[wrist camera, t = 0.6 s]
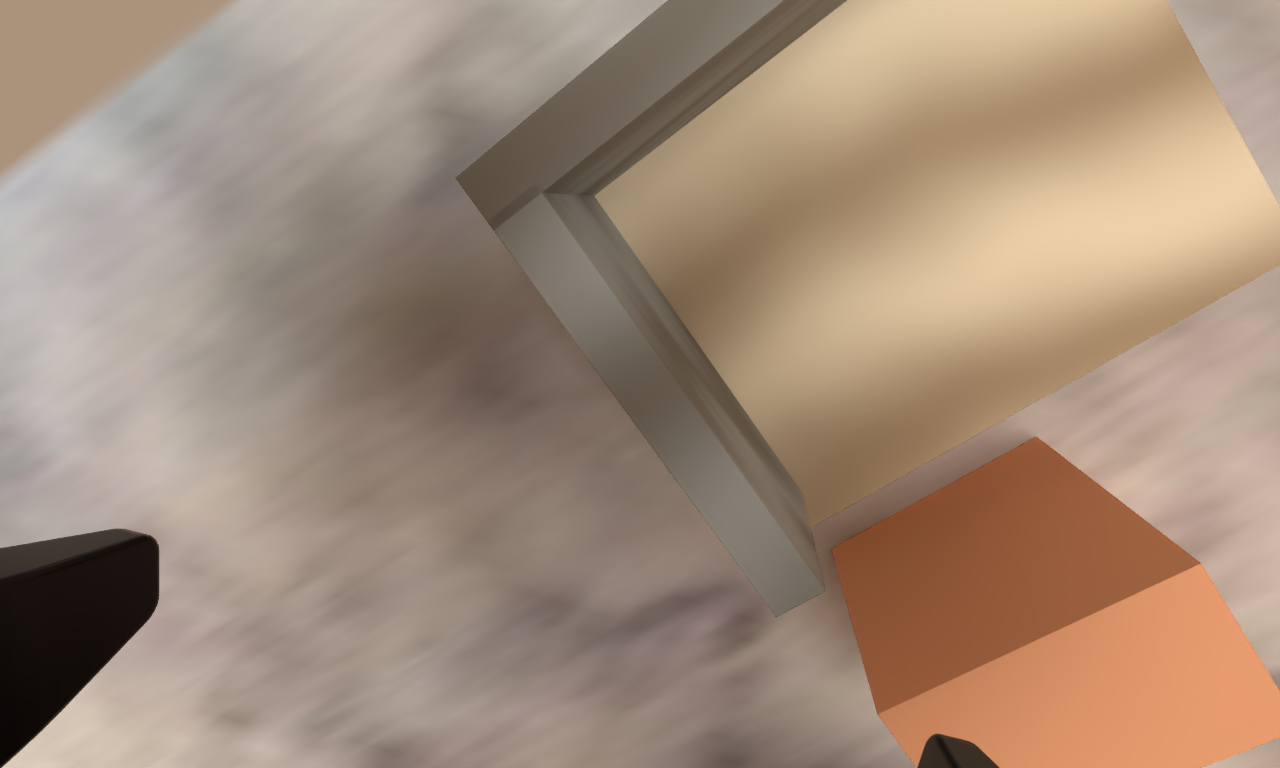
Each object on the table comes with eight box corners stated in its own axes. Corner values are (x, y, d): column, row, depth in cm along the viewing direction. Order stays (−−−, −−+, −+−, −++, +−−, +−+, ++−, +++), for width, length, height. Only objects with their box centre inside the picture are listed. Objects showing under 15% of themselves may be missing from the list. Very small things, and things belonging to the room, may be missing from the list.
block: (1106, 547, 19) (1302, 728, 13) (901, 648, 21) (978, 854, 14) (1036, 436, 19) (1201, 563, 12) (831, 548, 21) (877, 714, 14)
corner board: (1265, 248, 17) (1551, 271, 11) (782, 522, 20) (802, 652, 15) (997, -235, 15) (1165, -515, 9) (521, 155, 19) (422, 133, 13)
